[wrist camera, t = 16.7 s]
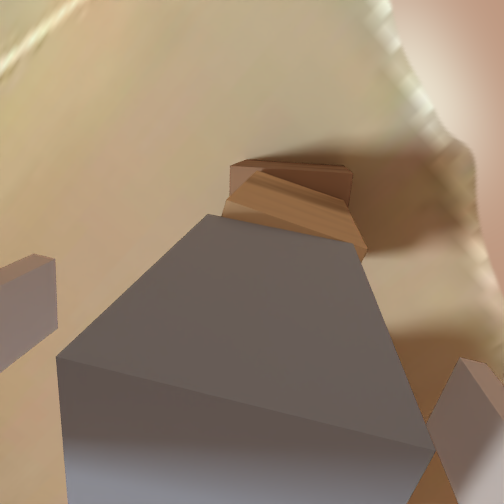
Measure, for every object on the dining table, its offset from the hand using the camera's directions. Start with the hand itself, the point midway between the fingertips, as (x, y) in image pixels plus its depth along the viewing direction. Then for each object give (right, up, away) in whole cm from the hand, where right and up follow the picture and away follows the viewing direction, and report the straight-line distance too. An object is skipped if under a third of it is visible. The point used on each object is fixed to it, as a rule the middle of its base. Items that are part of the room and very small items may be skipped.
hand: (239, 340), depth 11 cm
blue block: (+1, +1, +4) cm, 4 cm away
